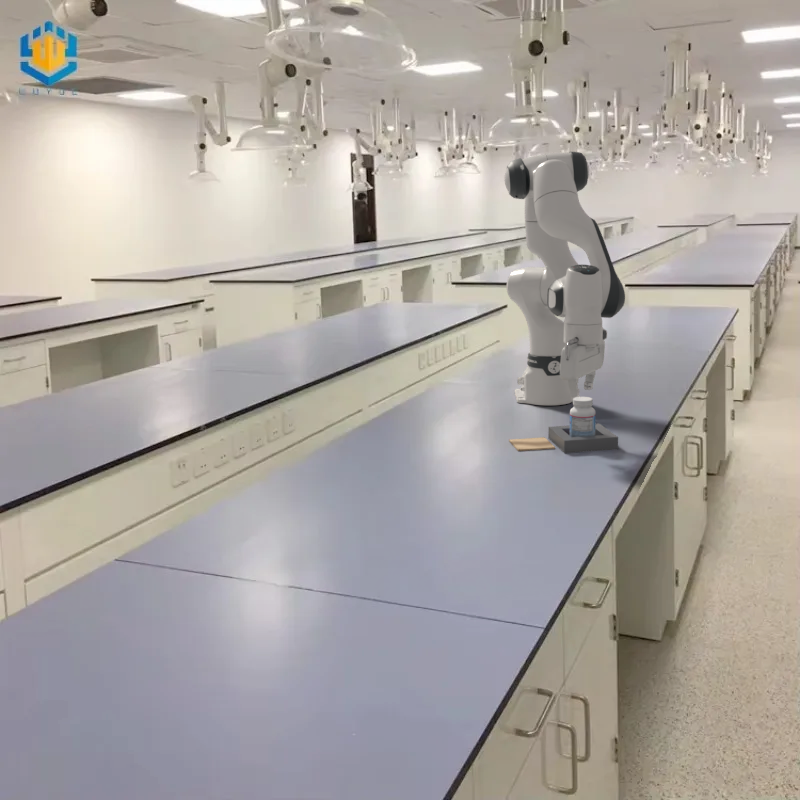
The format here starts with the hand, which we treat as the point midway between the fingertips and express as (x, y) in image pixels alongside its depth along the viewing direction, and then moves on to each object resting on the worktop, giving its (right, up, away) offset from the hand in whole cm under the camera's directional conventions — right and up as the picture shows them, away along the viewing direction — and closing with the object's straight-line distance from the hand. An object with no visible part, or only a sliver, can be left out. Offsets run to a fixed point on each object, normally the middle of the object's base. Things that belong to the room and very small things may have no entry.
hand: (581, 392), depth 204 cm
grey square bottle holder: (+1, -12, +3) cm, 13 cm away
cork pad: (-11, -13, +4) cm, 17 cm away
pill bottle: (+1, -13, +3) cm, 13 cm away
